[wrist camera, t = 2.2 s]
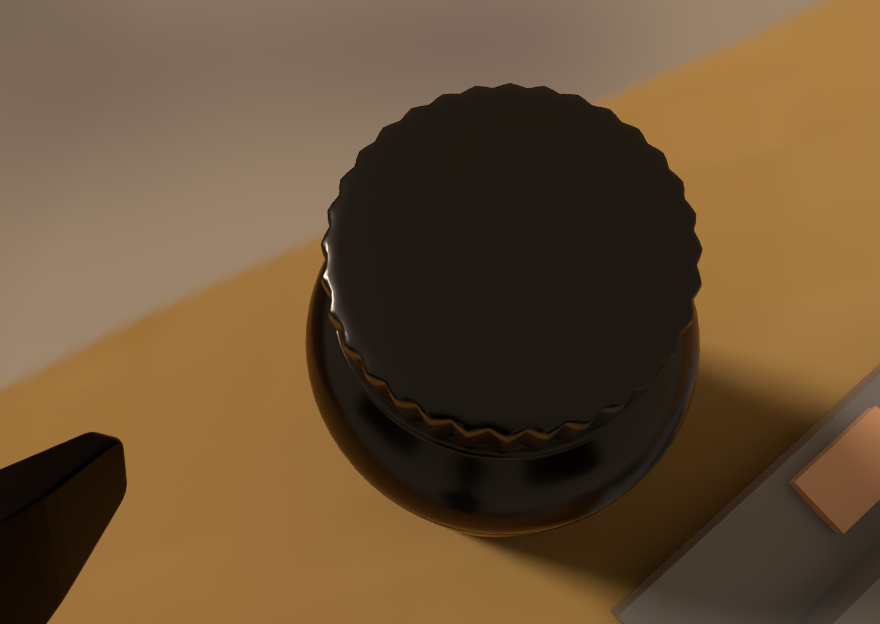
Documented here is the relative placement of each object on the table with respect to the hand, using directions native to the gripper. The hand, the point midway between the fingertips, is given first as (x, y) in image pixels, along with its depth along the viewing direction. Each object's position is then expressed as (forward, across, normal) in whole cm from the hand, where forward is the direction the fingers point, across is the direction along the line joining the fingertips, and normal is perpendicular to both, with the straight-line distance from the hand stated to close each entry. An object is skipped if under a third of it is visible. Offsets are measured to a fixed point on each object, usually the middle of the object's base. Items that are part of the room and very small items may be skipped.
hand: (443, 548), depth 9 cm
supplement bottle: (+10, 0, +5) cm, 11 cm away
